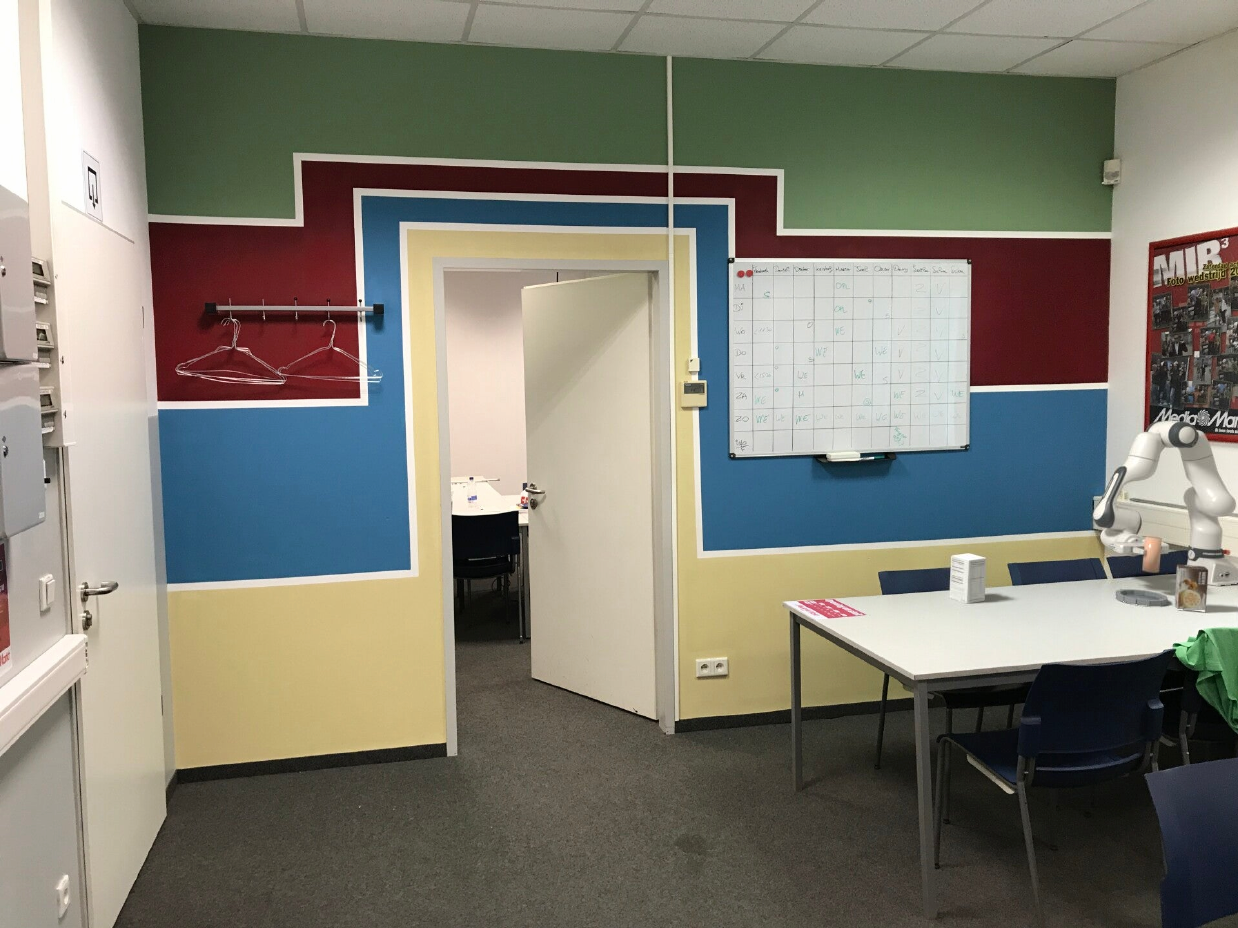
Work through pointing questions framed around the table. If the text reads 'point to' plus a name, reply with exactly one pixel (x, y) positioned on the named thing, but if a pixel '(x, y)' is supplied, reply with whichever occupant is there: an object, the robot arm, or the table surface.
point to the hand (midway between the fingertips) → (1153, 552)
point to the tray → (1141, 597)
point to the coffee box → (1191, 587)
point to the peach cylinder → (1152, 554)
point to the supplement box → (968, 578)
